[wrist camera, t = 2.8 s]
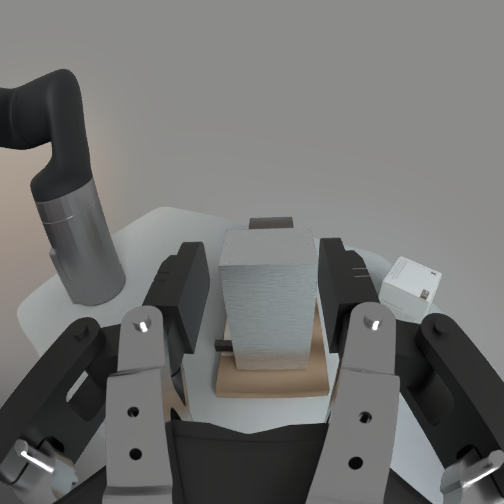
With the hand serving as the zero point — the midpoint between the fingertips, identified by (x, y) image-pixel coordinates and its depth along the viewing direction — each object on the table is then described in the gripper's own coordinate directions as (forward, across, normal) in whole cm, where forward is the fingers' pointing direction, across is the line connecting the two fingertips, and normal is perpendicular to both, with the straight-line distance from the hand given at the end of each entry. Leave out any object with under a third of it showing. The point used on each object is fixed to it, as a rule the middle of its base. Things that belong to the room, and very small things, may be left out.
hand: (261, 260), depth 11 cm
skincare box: (+14, -16, +20) cm, 29 cm away
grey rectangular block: (+10, +1, +19) cm, 21 cm away
